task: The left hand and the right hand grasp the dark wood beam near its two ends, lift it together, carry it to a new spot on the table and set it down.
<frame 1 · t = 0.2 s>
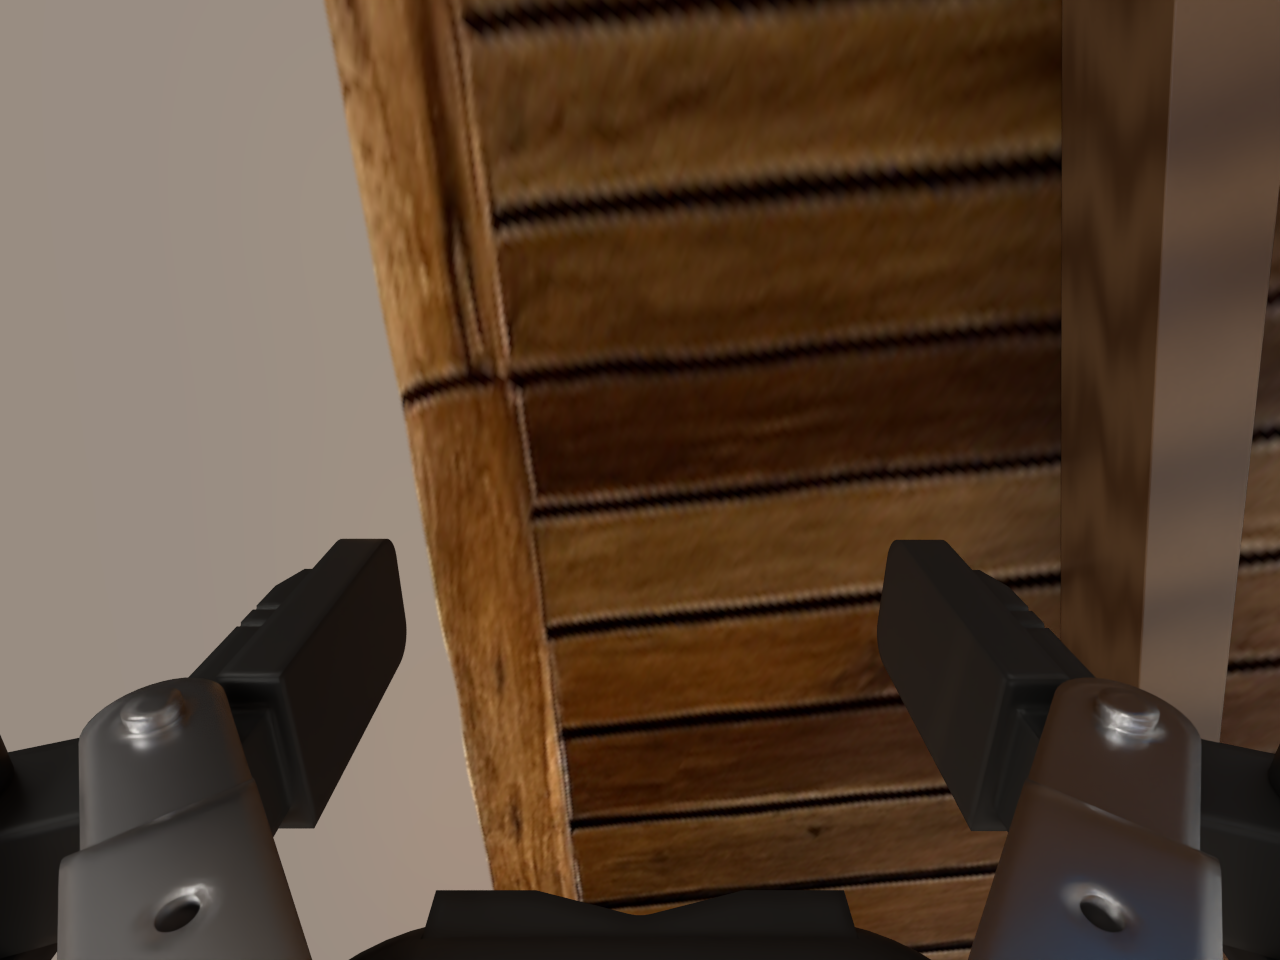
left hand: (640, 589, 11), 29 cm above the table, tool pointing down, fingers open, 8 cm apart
beam: (1101, 431, 41), on the table
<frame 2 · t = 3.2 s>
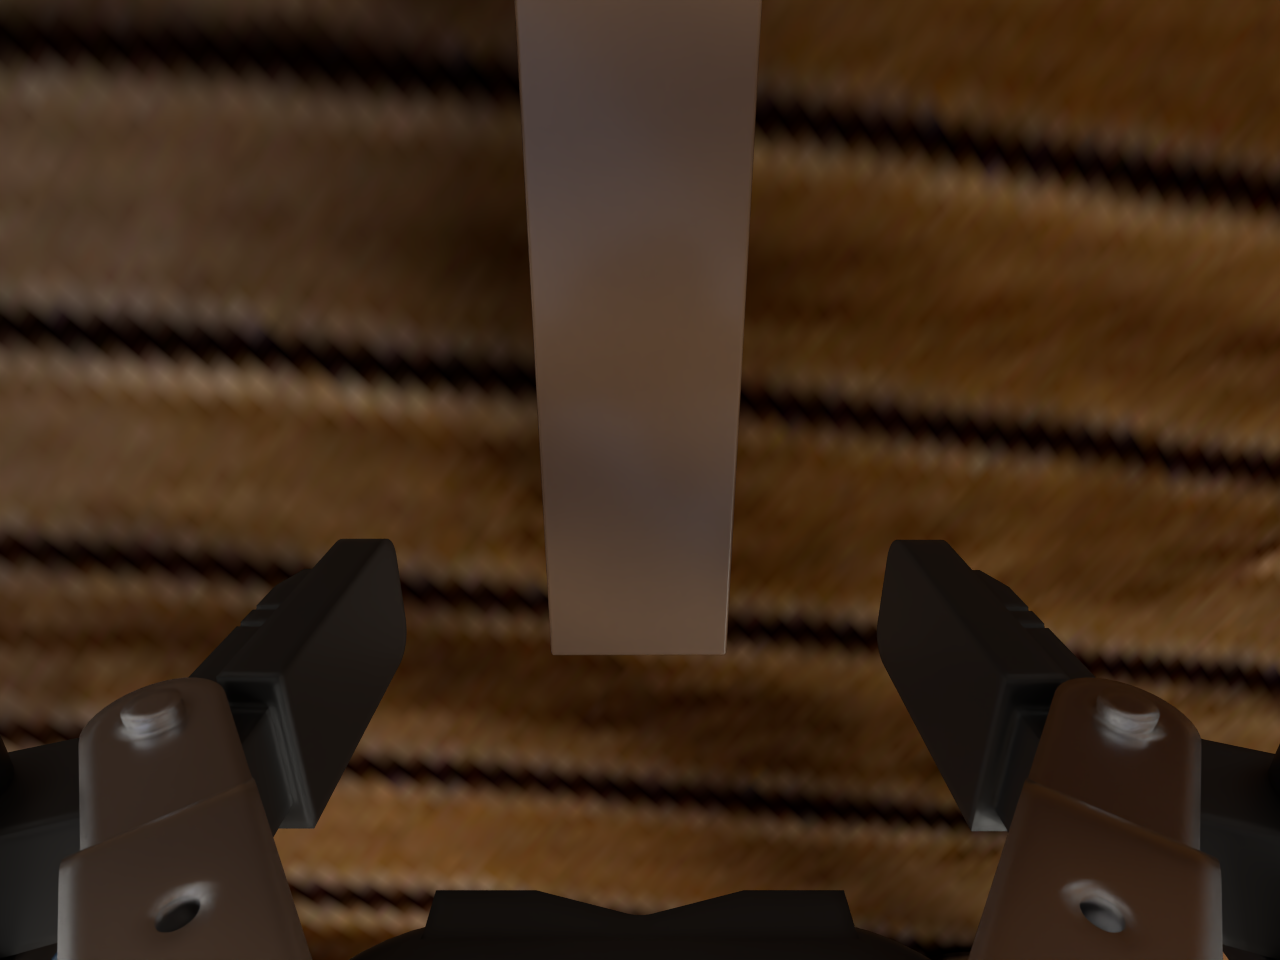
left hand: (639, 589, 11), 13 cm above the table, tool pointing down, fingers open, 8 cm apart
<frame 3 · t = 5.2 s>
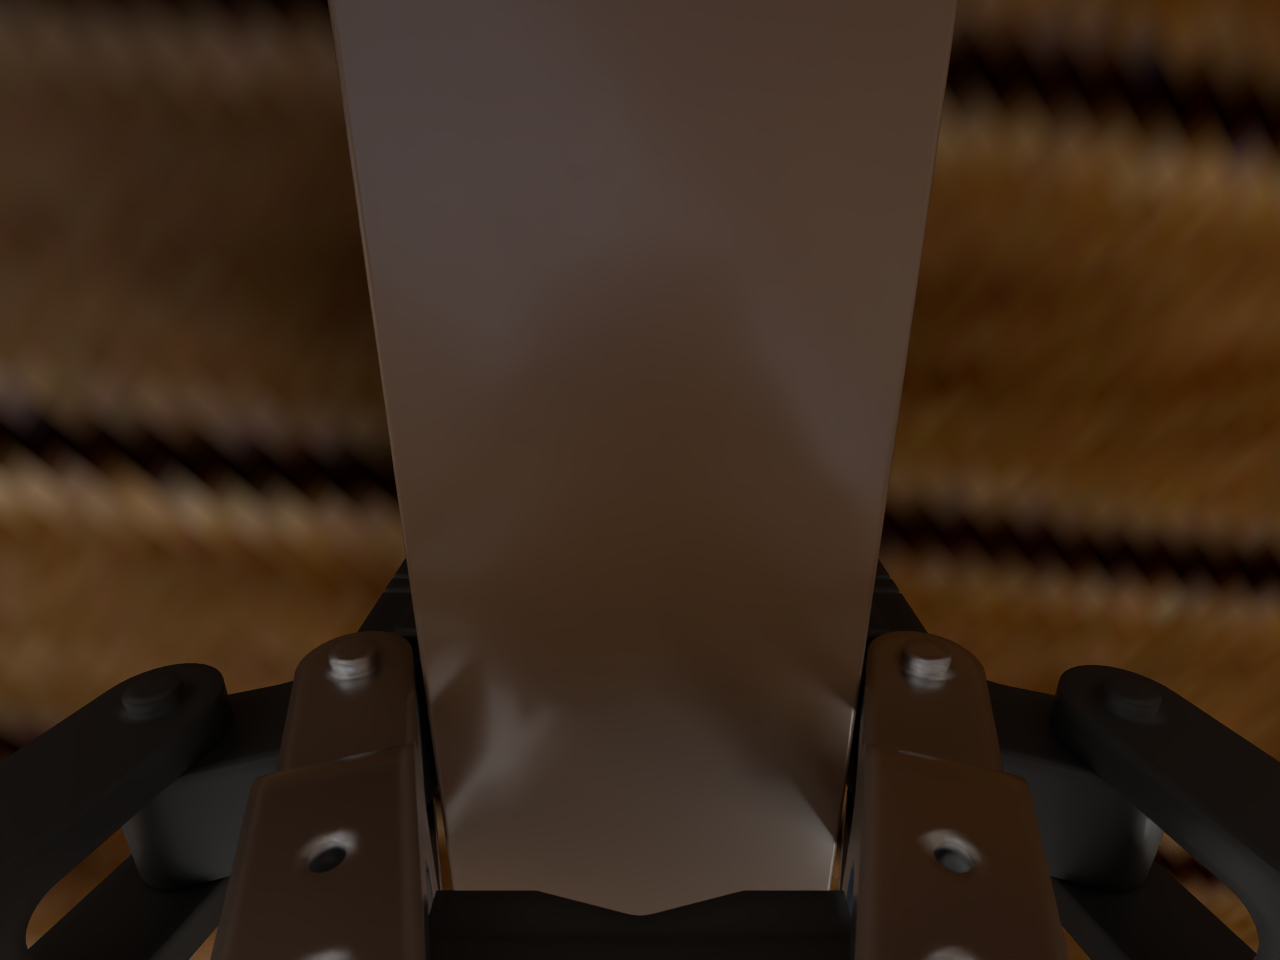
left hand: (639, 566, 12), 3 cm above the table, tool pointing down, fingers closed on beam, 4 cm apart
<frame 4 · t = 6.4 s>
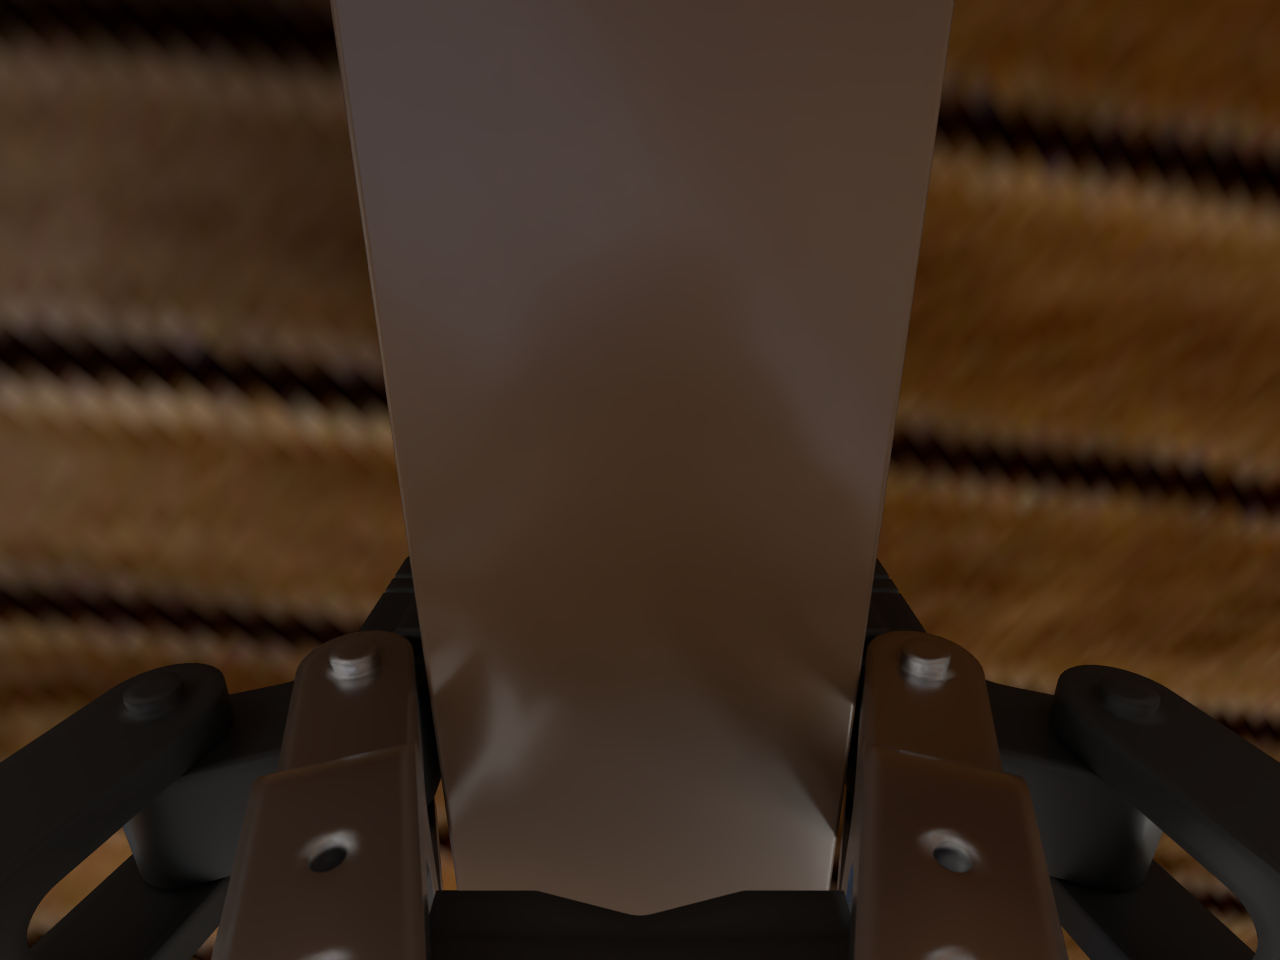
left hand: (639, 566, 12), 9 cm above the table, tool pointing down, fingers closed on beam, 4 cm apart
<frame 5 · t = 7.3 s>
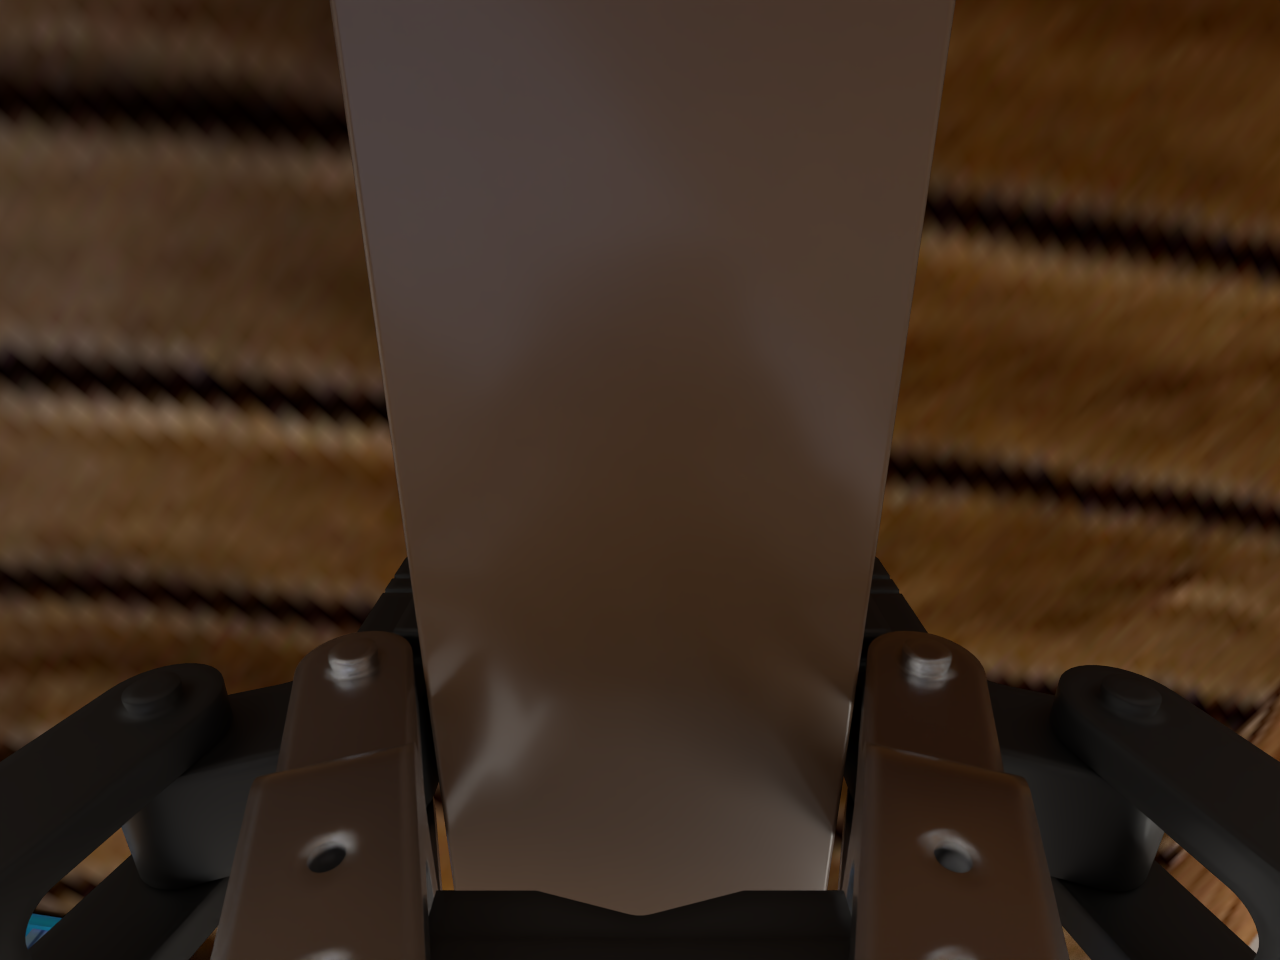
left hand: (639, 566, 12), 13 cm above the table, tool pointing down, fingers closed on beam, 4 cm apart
when the right hand's fingers open (2 cm above the table, at t = 9.6 s): beam drops 2 cm, on the table.
when the left hand's fingers open (5 cm above the table, at t = 9.8 s): beam stays where it is, on the table.
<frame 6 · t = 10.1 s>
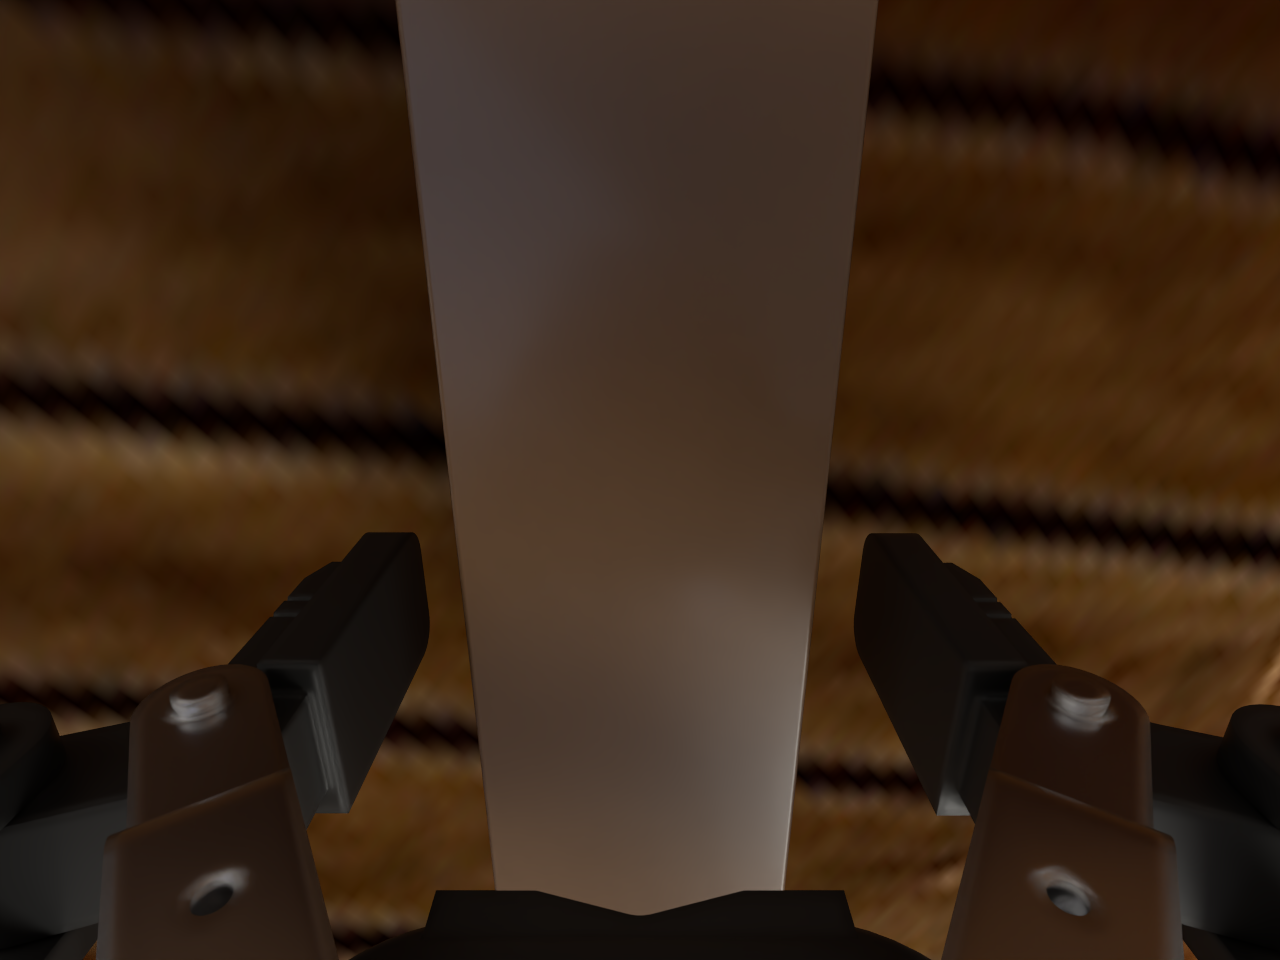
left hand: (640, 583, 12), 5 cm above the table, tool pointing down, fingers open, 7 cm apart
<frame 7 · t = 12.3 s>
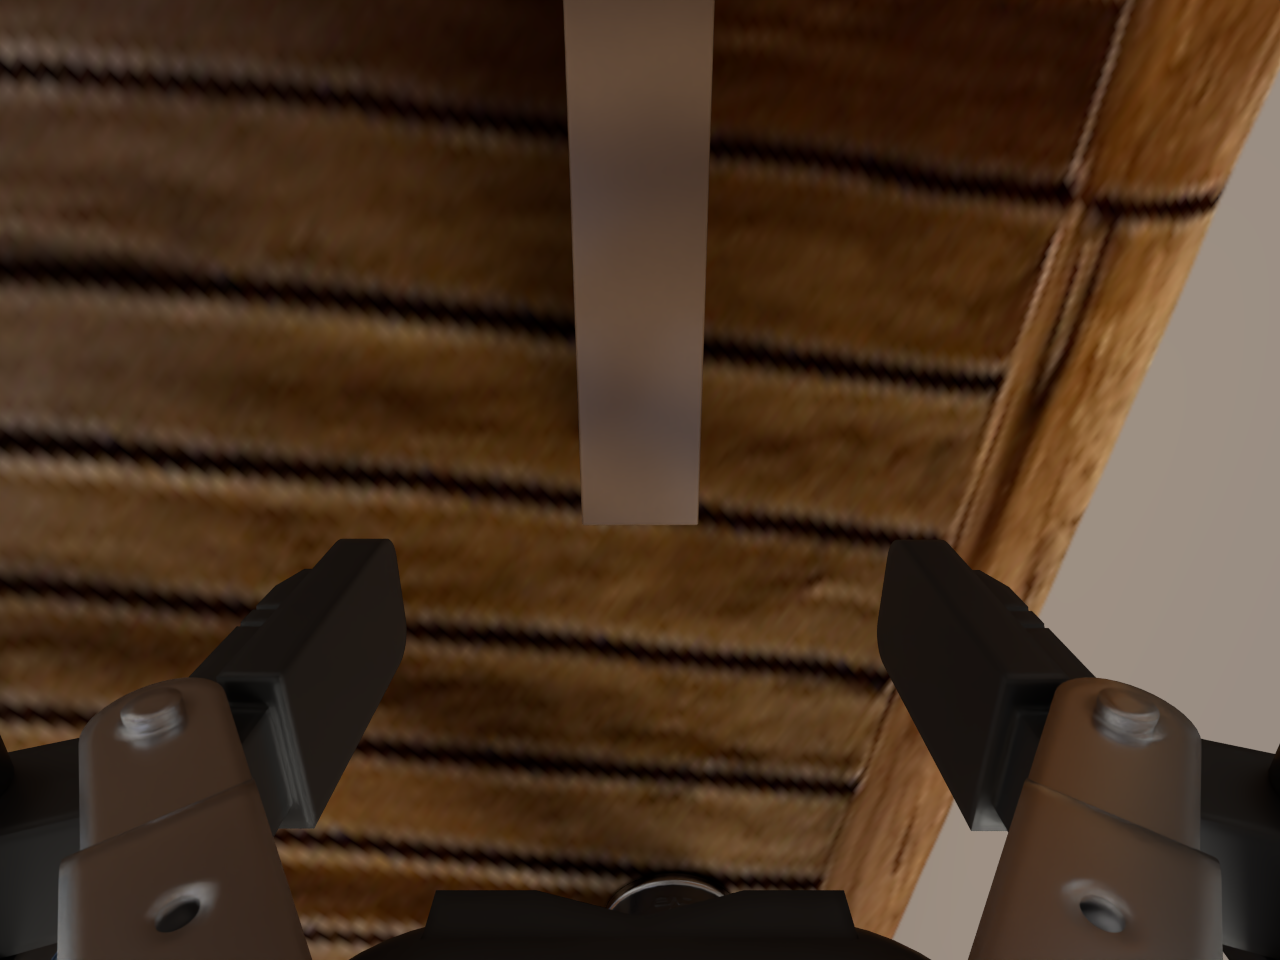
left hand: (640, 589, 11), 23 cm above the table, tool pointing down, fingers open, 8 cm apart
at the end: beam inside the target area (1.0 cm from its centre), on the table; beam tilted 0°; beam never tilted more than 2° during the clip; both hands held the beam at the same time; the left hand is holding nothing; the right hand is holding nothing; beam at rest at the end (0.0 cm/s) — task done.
